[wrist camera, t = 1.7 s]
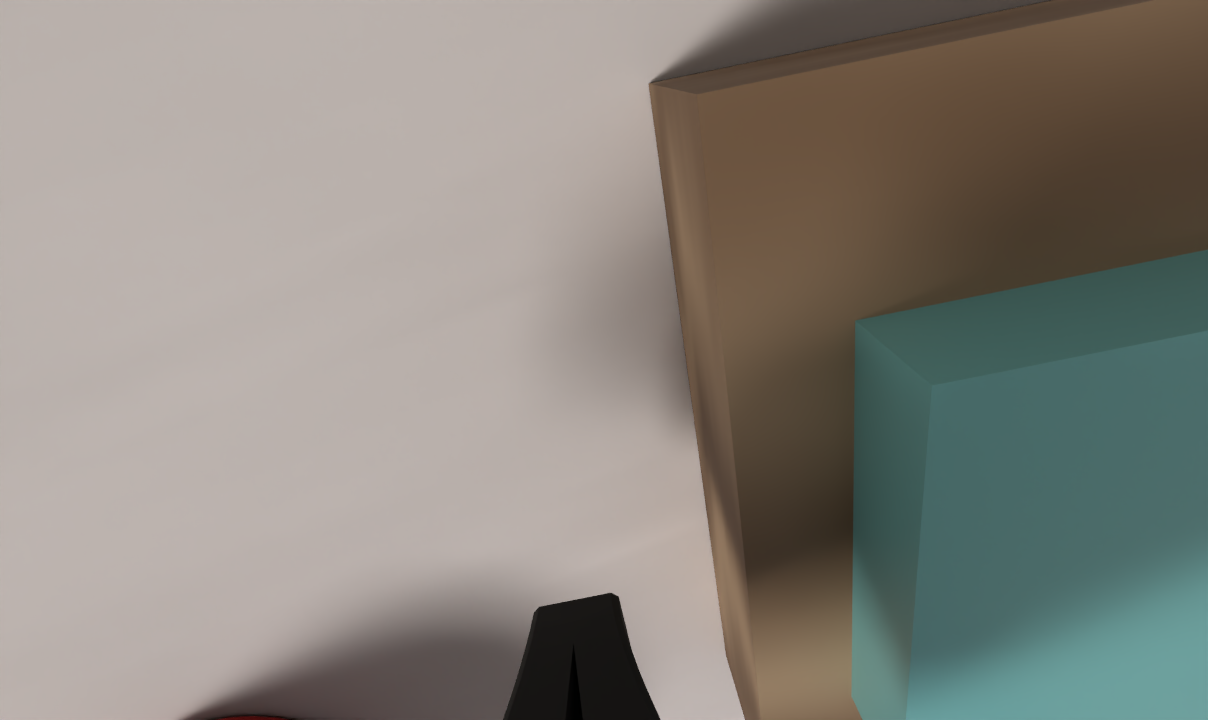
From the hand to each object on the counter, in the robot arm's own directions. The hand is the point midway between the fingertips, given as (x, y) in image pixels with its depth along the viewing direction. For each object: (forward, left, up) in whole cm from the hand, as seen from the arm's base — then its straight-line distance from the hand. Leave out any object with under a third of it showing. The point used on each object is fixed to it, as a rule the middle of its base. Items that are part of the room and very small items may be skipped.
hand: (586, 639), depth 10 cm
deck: (0, -9, -5) cm, 10 cm away
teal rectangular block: (0, -8, -1) cm, 8 cm away
